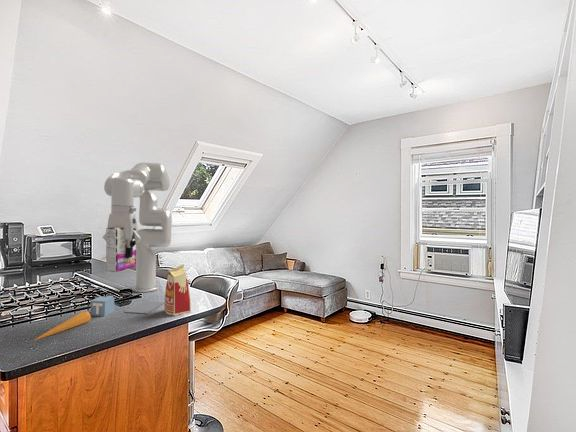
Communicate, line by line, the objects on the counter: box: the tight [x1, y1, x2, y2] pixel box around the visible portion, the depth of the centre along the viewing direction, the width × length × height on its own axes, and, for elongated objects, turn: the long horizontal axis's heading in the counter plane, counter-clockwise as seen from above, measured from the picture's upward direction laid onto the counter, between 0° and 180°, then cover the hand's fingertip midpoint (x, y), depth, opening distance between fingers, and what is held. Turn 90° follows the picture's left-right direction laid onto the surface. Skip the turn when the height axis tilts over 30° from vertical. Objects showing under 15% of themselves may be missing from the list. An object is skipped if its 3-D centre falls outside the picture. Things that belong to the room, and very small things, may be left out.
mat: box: [123, 300, 164, 315], centre depth 140 cm, size 15×10×1 cm, turn 175°
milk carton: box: [163, 263, 192, 316], centre depth 136 cm, size 9×9×20 cm
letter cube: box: [89, 295, 115, 317], centre depth 131 cm, size 6×6×6 cm
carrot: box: [32, 311, 92, 342], centre depth 113 cm, size 20×4×4 cm, turn 161°
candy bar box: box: [105, 227, 136, 273], centre depth 124 cm, size 11×5×16 cm, turn 169°
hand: (121, 256), depth 124 cm, fingers closed on candy bar box, 5 cm apart
